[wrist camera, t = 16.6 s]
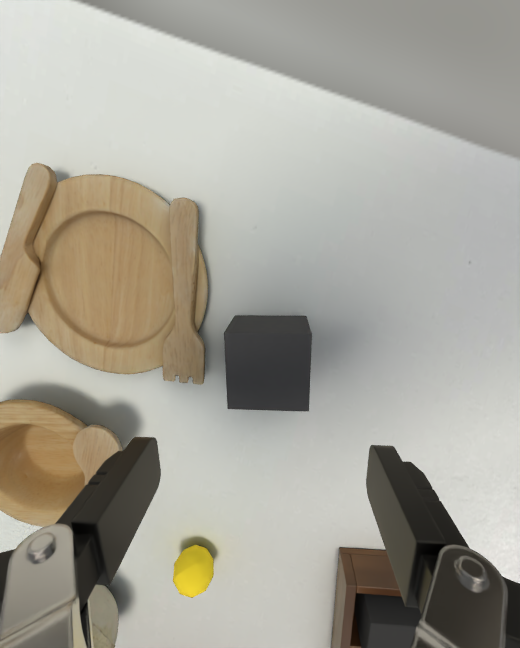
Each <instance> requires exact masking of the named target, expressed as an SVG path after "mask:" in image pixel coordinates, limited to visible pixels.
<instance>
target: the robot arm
mask: <svg viewBox="0 0 520 648" xmlns="http://www.w3.org/2000/svg"><path fill="white" fill-rule="evenodd" d="M160 476H161V469H160V462H159V454H158V446H157V441H156V439H155V438H152V437H134V438H133V439H132V440H131V441H130V443H129V444H128V445H127V447H126V448H125V450H124V451H117V452H116V453H115V454H113V455H112V456H111V457H109V458H108V459H107V460H105V461H104V463H103V464H102V465H101V466H100V468H99V469H98V470H97V471H96V474H95V475H93V476H92V478H91V479H90V480H89V482H88V484H87V485H85V487H84V488H83V489H82V490H81V492H80V493H79V494H78V495H77V497H76V498H75V499H74V500H73V502H72V503H71V504H70V506H69V507H68V508H67V509H66V511H65V512H64V513H63V514H62V516H61V517H60V518H59V519H58V521H57V522H56V523H55V524H52V525H49V526H46V527H43V528H41V529H39V530H37V531H35V532H34V533H32V534H31V535H29V536H28V537H27V538H26V539H24V540H23V541H22V542H21V543H20V544H19V545H18V547H17V548H16V549H14V550H10V551H6V552H2V553H0V648H94V645H93V634H92V623H91V611H90V602H89V596H90V594H91V593H92V591H93V589H94V587H95V585H110V584H111V582H112V580H113V578H114V576H115V574H116V572H117V570H118V568H119V566H120V564H121V562H122V560H123V558H124V556H125V554H126V552H127V550H128V548H129V545H130V543H131V541H132V539H133V537H134V535H135V533H136V531H137V529H138V527H139V525H140V523H141V521H142V519H143V517H144V515H145V513H146V511H147V509H148V507H149V505H150V503H151V501H152V499H153V497H154V495H155V493H156V491H157V488H158V486H159V482H160ZM366 486H367V494H368V498H369V501H370V504H371V507H372V510H373V513H374V516H375V519H376V522H377V525H378V528H379V531H380V534H381V537H382V540H383V542H384V545H385V548H386V551H387V554H388V557H389V560H390V563H391V566H392V569H393V572H394V575H395V578H396V581H397V584H398V587H399V590H400V593H401V596H402V598H403V601H404V604H405V607H412V608H419V609H420V612H421V618H420V621H419V624H417V627H416V630H415V633H414V637H413V640H412V644H411V647H410V648H520V584H519V583H516V582H514V581H511V580H509V579H506V578H504V577H503V576H501V574H500V573H499V571H498V570H497V569H496V568H495V567H494V566H493V564H492V563H490V562H489V561H488V560H487V559H486V558H485V557H483V556H482V555H480V554H479V553H477V552H475V551H474V550H472V549H470V548H469V547H468V545H467V543H466V542H465V540H464V539H463V537H462V535H461V534H460V532H459V530H458V529H457V527H456V525H455V524H454V522H453V521H452V519H451V517H450V516H449V514H448V512H447V511H446V509H445V507H444V506H443V504H442V503H441V501H439V498H438V496H437V494H436V493H435V491H434V490H432V486H431V485H430V483H429V481H428V480H427V478H426V476H425V475H424V473H423V472H422V471H420V470H419V469H418V468H417V467H416V466H415V465H414V464H412V463H411V462H402V460H401V458H400V456H399V455H398V453H397V451H396V449H395V448H394V447H393V446H381V445H371V446H370V450H369V459H368V469H367V478H366Z"/></svg>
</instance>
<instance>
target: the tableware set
mask: <svg viewBox="0 0 520 648" xmlns="http://www.w3.org/2000/svg"><path fill="white" fill-rule="evenodd" d="M198 222H199V211H198V206H197V205H196V204H195V202H194V201H192V200H190V199H187V198H177V199H174V200H173V201H172V202H171V204H170V205H169V204H168V203H167V202H166V201H164V200H163V199H162V198H161V197H160V196H158V195H157V194H155V193H154V192H152V191H151V190H149V189H147V188H145V187H143V186H142V185H140V184H138V183H135V182H133V181H130V180H127V179H124V178H120V177H116V176H110V175H102V174H96V175H82V176H76V177H71V178H68V179H65V180H62V181H60V182H58V183H57V179H56V174H55V172H54V171H53V170H52V169H51V168H50V167H49V166H46V165H43V164H39V163H35V164H32V165H31V166H30V167H29V168H28V171H27V173H26V176H25V178H24V182H23V185H22V188H21V191H20V195H19V198H18V201H17V205H16V208H15V211H14V215H13V218H12V221H11V225H10V228H9V231H8V234H7V238H6V241H5V244H4V248H3V251H2V254H1V258H0V333H9V332H12V331H15V330H17V329H18V328H19V327H20V325H21V324H22V322H23V320H24V318H25V316H26V314H27V313H29V314H30V316H31V318H32V320H33V322H34V323H35V324H36V326H37V327H38V328H39V330H40V331H41V332H42V333H43V334H44V335H45V336H46V338H47V339H48V340H49V341H50V342H51V343H53V344H54V345H55V346H56V347H57V348H58V349H60V350H61V351H62V352H63V353H64V354H66V355H67V356H69V357H70V358H72V359H74V360H76V361H78V362H80V363H82V364H84V365H86V366H89V367H91V368H94V369H97V370H101V371H105V372H110V373H117V374H135V373H142V372H147V371H150V370H153V369H156V368H158V367H161V366H163V379H164V381H173V382H174V381H175V376H176V375H178V376H179V382H180V383H187V382H188V380H189V377H192V378H193V384H199V385H202V384H203V382H204V374H205V345H204V342H203V340H202V339H201V337H200V336H199V334H198V333H197V332H198V330H199V328H200V326H201V323H202V320H203V317H204V314H205V310H206V306H207V298H208V281H207V272H206V267H205V263H204V259H203V256H202V253H201V250H200V247H199V245H198ZM117 451H122V446H121V443H120V441H119V439H118V437H117V436H116V435H115V433H113V432H112V431H111V430H110V429H108V428H106V427H104V426H101V425H90V426H87V425H86V424H85V423H84V422H82V421H81V420H79V419H77V418H75V417H74V416H72V415H71V414H69V413H67V412H65V411H63V410H62V409H60V408H57V407H55V406H52V405H49V404H46V403H43V402H38V401H34V400H7V401H3V402H0V510H1V511H2V512H4V513H6V514H7V515H9V516H11V517H13V518H15V519H17V520H19V521H22V522H25V523H28V524H31V525H35V526H41V527H46V526H49V525H52V524H55V523H56V522H57V521H58V519H59V518H60V517H61V516H62V514H63V513H64V512H65V511H66V509H67V508H68V507H69V506H70V504H71V503H72V502H73V500H74V499H75V498H76V497H77V495H78V494H79V493H80V492H81V490H82V489H83V488H84V487H85V485H87V484H88V482H89V480H90V479H91V478H92V476H93V475H95V474H96V471H97V470H98V469H99V468H100V466H101V465H102V464H103V463H104V461H105V460H107V459H108V458H109V457H111V456H112V455H113V454H115V453H116V452H117Z"/></svg>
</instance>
